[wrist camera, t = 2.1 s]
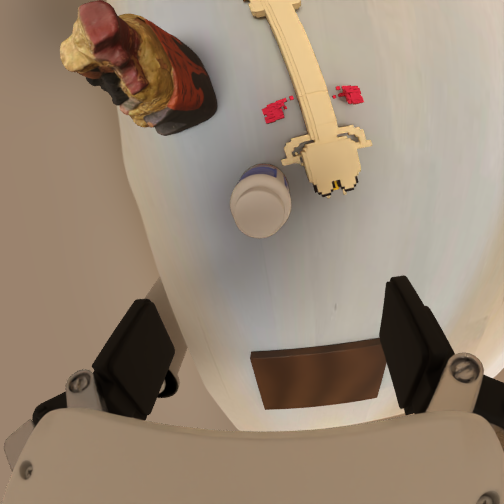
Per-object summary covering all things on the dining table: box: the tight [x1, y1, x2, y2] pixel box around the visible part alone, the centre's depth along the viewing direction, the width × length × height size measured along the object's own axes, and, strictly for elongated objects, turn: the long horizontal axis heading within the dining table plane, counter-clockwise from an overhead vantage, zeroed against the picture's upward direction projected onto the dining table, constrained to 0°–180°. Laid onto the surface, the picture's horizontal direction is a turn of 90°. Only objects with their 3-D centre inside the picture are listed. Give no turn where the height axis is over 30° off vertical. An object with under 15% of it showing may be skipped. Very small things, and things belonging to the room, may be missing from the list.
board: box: [250, 338, 386, 410], centre depth 43 cm, size 22×16×2 cm
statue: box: [60, 0, 217, 136], centre depth 17 cm, size 12×8×20 cm, turn 18°
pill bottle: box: [230, 164, 291, 238], centre depth 26 cm, size 5×5×10 cm
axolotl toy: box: [243, 0, 372, 198], centre depth 21 cm, size 10×9×25 cm
